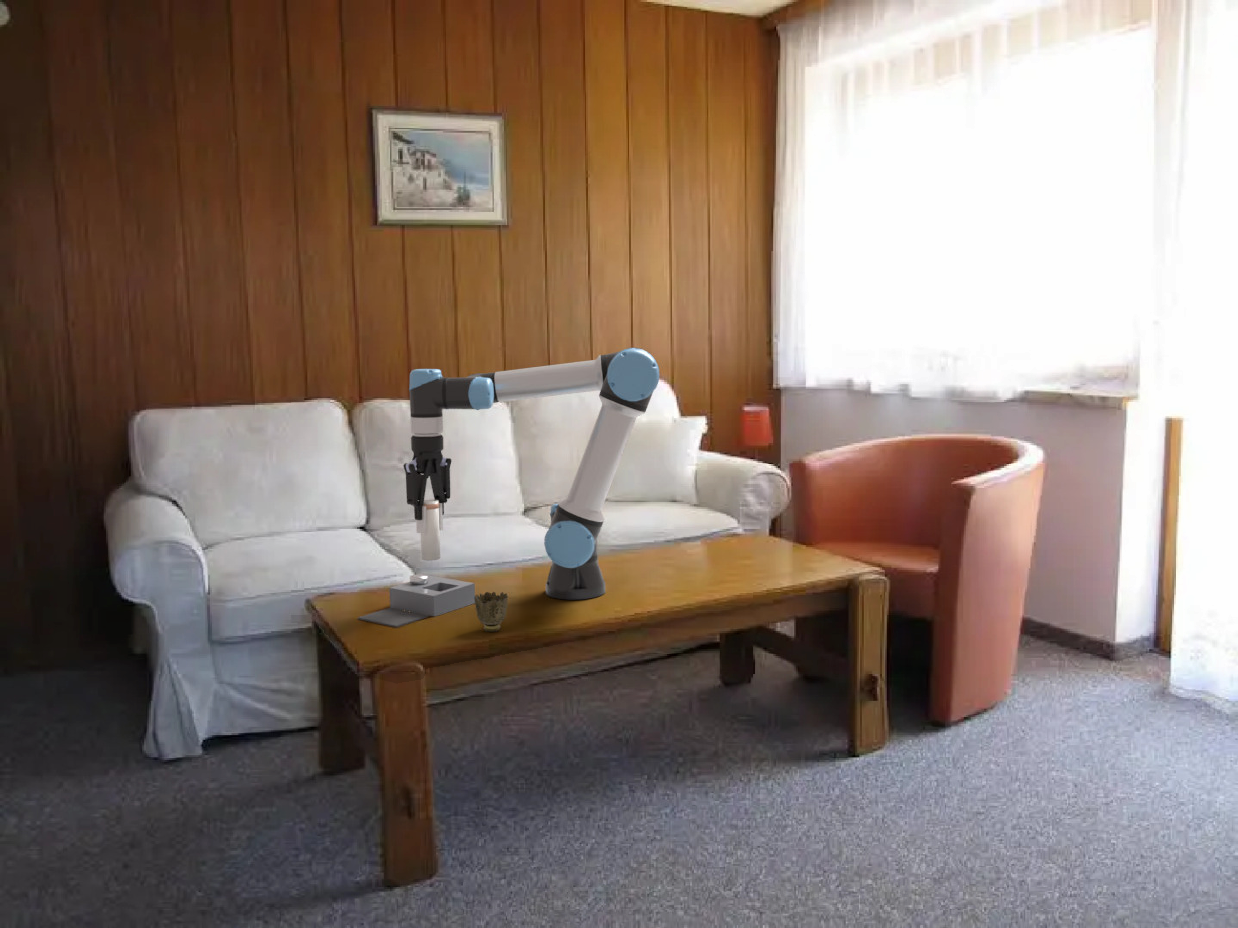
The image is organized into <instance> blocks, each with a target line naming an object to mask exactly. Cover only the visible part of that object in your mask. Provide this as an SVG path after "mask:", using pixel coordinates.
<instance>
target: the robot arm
mask: <svg viewBox="0 0 1238 928" xmlns="http://www.w3.org/2000/svg"><path fill="white" fill-rule="evenodd" d="M659 381H660V368H659V365H658V363H657V361H656V359H655V358H654V356H653V355H652V354H651V353H650V352H648V351H647V350H645V349H643V348H640V347H627V348H625V349H622V350H620V351H616V352H612V353H607V354H606V353H605V354H599V355H598V356H597V358H596V359H593V360H592V359H591V360H583V361H574V362H566V363H560V364H558V363H557V364H551V365H544V366H543V365H542V366H536V367H535V366H534V367H527V368H526V367H525V368H518V369H517V368H516V369H510V370H503V371H495V372H485V373H480V372H479V373H473V374H470V375H468V376H466V377H463V376H462V377H461V376H460V377H445V376H443V375H442V370H441V369H438V368H417V369H412V370H411V372H410V373H409V388H408V392H409V408H410V410H409V411H410V412H409V414H410V415H409V417H410V433H411V434H412V435H411V436H410V445H411V448H410V449H411V451H412V452H413V456H412V459H411V460H412V461H410V462H409V463H408V462H407V463H406V462H405V463H404V464H403V469H404V472H405V488H406V504H407V505H411V506H413V508H414V509H413V511H414V519H415V520H416V521H415V522H416V533H417V534H421V533H422V534H427V518H426V506H423V504H424V500H425V498H426V489H427V483H428V482H427V481H428V479H430V484H431V489H432V494H433V495H432V496H433V500H438V501H439V530H440V531H443V530H444V525H443V524H444V523H443V522H444V521H443V520H444V519H443V516H444V515H445V504H446V503H447V502H448V500H449V499H450V498H451V465H452V458H450V457H449V458H448V457H444V456H443V452H442V451H444V436H443V432H444V424H443V423H444V421H443V420H444V419H443V410H475V411H479V410H490V409H491V408H492V407H493V406H494V405H493V404H496V403H502V402H503V403H504V402H512V401H520V400H529V399H537V398H546V397H555V396H563V395H565V396H566V395H572V394H580V393H581V394H582V393H588V392H589V393H591V392H596V391H597V392H598V391H599V394H598V397H599V399H600V402H601V407H600V410H599V411H598V415H597V418H596V421H595V423H594V426H593V429H592V432H591V434H590V437H589V440H588V442H587V445H586V447H585V450H584V453H583V455H582V458H581V460H580V464H579V465H578V468H577V471H576V474H575V477H574V479H573V481H572V484H571V488H570V490H569V493H568V495H567V497H566V498H565V499H563V500H561V501H559V502H558V503H554V504H552V505H551V506H550V512H549V516H550V525H549V528H548V530H547V531H546V532H545V535H544V548H545V552H546V554H547V557H548V558H549V559H550V560H551V566H550V569H549V572H548V577H547V580H546V582H545V595H546V596H548V597H551V598H554V599H558V600H573V601H574V600H575V601H577V600H587V599H592V598H597V597H600V596H603V595H604V594H605V593H606V581H605V580H604V577H603V573H602V570H601V568H600V565H599V555H598V551H599V550H598V549H599V548H598V537H599V535H600V532H601V529H602V527H603V524H604V522H605V517H604V515H603V513H602V509H603V507H604V504H605V501H606V499H607V495H608V493H609V490H610V488H611V485H612V483H613V481H614V478H615V475H616V472H617V470H618V466H619V465H620V462H621V459H622V456H623V453H624V452H625V449H626V446H627V443H628V441H629V438H630V436H631V433H632V429H633V428H634V425H635V422H636V419H637V418H638V417H639V416H642V415H644V414H645V413H646V411H647V408H648V406H649V404H650V402H651V399H652V396H653V393H654V392H655V390H656V389H657V388H658V387H657V386H658V384H659Z"/></svg>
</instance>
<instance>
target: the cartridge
mask: <svg viewBox="0 0 1238 928" xmlns="http://www.w3.org/2000/svg"><path fill="white" fill-rule="evenodd" d="M423 506H426V518H427V534H422V533H420V557H421V558H420V559H421V561H431V562H432V561H437V560H441V541H440V540H441V539H440V538H441V533H440V531H441V530H439V501H438V500H434V499H424V504H423Z"/></svg>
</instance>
